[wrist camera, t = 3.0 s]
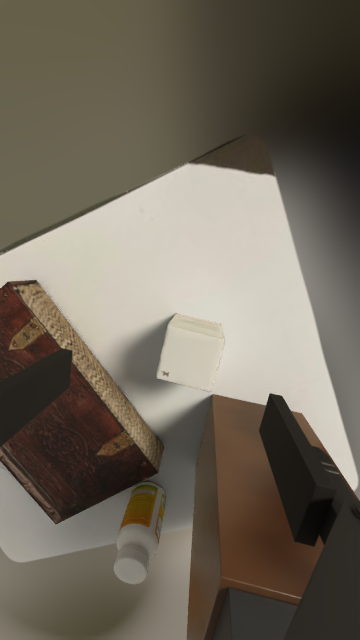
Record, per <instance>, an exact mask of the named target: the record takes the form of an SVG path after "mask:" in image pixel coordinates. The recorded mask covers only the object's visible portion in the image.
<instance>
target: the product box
mask: <svg viewBox="0 0 360 640" xmlns="http://www.w3.org/2000/svg"><path fill="white" fill-rule="evenodd" d="M224 344H225V338H224V334H223V330H222V325H221V324H220V323H216V322H211V321H207V320H203V319H198V318H194V317H190V316H186V315H181V314H177V313H176V314H175V316H174V317H173V318H172V320H171V321H170V322H169V324H168V325H167V329H166V333H165V338H164V343H163V347H162V351H161V356H160V361H159V365H158V369H157V374H156V378H157V379H161V380H165V381H169V382H173V383H177V384H180V385H184V386H188V387H192V388H196V389H200V390H204V391H207V392H211V390H212V387H213V383H214V380H215V377H216V373H217V370H218V366H219V363H220V359H221V355H222V352H223V348H224Z"/></svg>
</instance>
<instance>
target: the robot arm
mask: <svg viewBox="0 0 360 640" xmlns="http://www.w3.org/2000/svg"><path fill="white" fill-rule="evenodd" d="M72 354H73V350H68V349H64V348H61V349H59V350H58V351H56V352H54V353H52V354H50V355H48V356H47V357H45V358H43V359H41V360H39V361H37V362H36V363H34V364H32V365H30V366H28V367H26V368H25V369H23V370H21V371H19V372H17V373H15V374H14V375H12V376H10V377H3V378H0V447H1V446H2V445H4V444H5V443H6V442H7V441H8V440H9V439H10V438H12V437H13V436H14V435H15V434H16V433H17V432H19V431H20V430H21V429H22V428H23V427H24V426H26V425H27V424H28V423H29V422H30V421H31V420H32V419H34V418H35V417H36V416H37V415H38V414H39V413H41V412H42V411H43V410H44V409H45V408H46V407H48V406H49V405H50V404H51V403H52V402H53V401H54V400H56V399H57V398H58V397H59V396H60V395H61V394H63V393H64V392H65V391H66V390H67V389H68V388H70V377H71V365H72ZM259 433H260V436H261V439H262V442H263V445H264V448H265V451H266V455H267V458H268V461H269V464H270V467H271V470H272V473H273V476H274V479H275V483H276V486H277V489H278V492H279V495H280V498H281V501H282V504H283V507H284V511H285V514H286V517H287V520H288V523H289V526H290V529H291V532H292V535H293V539H294V542H297V543H301V544H305V545H309V546H313V547H315V544H316V542H317V539H318V537H319V535H320V537H321V540H322V542H323V544H324V547H323V550H322V552H321V554H320V557H319V559H318V561H317V564H316V566H315V568H314V570H313V573H312V575H311V577H310V580H309V582H308V584H307V587H306V589H305V591H304V593H303V596H302V598H301V600H300V603H299V605H298V607H297V610H296V612H295V614H294V616H293V619H292V621H291V623H290V626H289V628H288V630H287V633H286V635H285V637H284V639H283V640H360V501H358V500H357V499H356V497H355V496H354V494H353V493H352V491H351V490H350V488H349V487H348V485H347V484H346V482H345V481H344V479H343V477H342V476H341V475H340V473H339V471H338V470H337V468H336V467H335V465H334V464H333V462H332V461H331V459H330V458H329V456H328V455H327V454H326V453H325V452H324V451H323V450H321V449H320V448H319V447H315V446H311V444H310V442H309V441H308V439H307V437H306V436H305V434H304V432H303V431H302V429H301V427H300V426H299V424H298V422H297V421H296V419H295V417H294V415H293V414H292V412H291V410H290V409H289V407H288V405H287V404H286V402H285V400H284V399H283V397H282V396H280V395H275V394H271V393H270V394H269V398H268V401H267V405H266V408H265V411H264V415H263V418H262V422H261V425H260V428H259Z"/></svg>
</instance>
